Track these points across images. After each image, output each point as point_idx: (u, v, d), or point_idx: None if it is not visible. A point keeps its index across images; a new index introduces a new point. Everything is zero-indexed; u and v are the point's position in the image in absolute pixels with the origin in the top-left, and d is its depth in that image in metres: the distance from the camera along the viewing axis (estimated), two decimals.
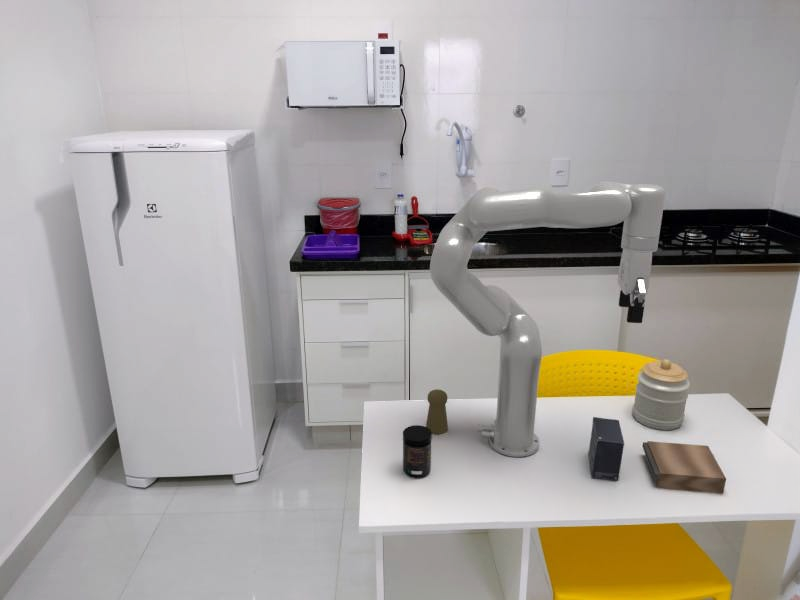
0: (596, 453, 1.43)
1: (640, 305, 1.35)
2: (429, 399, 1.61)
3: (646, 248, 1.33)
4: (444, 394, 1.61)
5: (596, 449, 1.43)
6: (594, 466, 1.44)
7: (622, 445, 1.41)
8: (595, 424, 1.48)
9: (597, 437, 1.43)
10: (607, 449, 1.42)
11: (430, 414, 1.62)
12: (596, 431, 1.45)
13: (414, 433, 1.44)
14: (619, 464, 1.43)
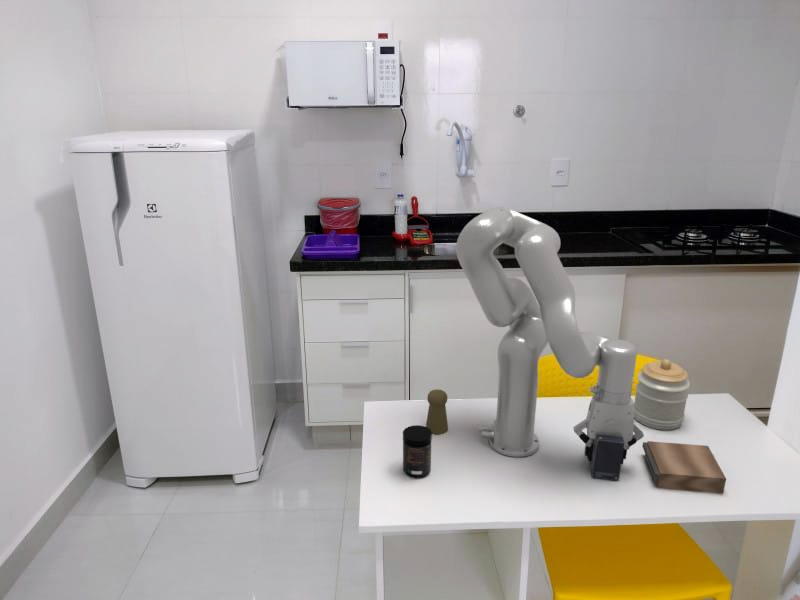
0: (596, 453, 1.43)
1: None
2: (429, 399, 1.61)
3: None
4: (444, 394, 1.61)
5: (596, 449, 1.43)
6: (594, 466, 1.44)
7: (622, 445, 1.41)
8: None
9: (597, 437, 1.43)
10: (607, 448, 1.42)
11: (430, 414, 1.62)
12: None
13: (414, 433, 1.44)
14: (619, 464, 1.43)
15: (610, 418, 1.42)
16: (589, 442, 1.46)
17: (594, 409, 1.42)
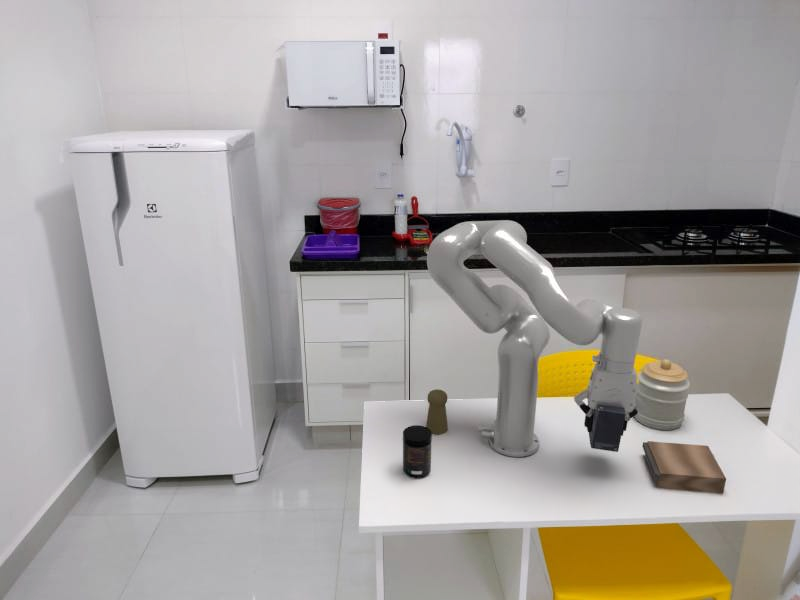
0: (597, 423, 1.40)
1: None
2: (429, 399, 1.61)
3: None
4: (444, 394, 1.61)
5: (597, 419, 1.40)
6: (594, 436, 1.42)
7: (623, 415, 1.38)
8: None
9: (598, 407, 1.40)
10: (608, 419, 1.39)
11: (430, 414, 1.62)
12: None
13: (414, 433, 1.44)
14: (620, 435, 1.40)
15: (612, 388, 1.39)
16: (589, 412, 1.44)
17: (596, 378, 1.39)
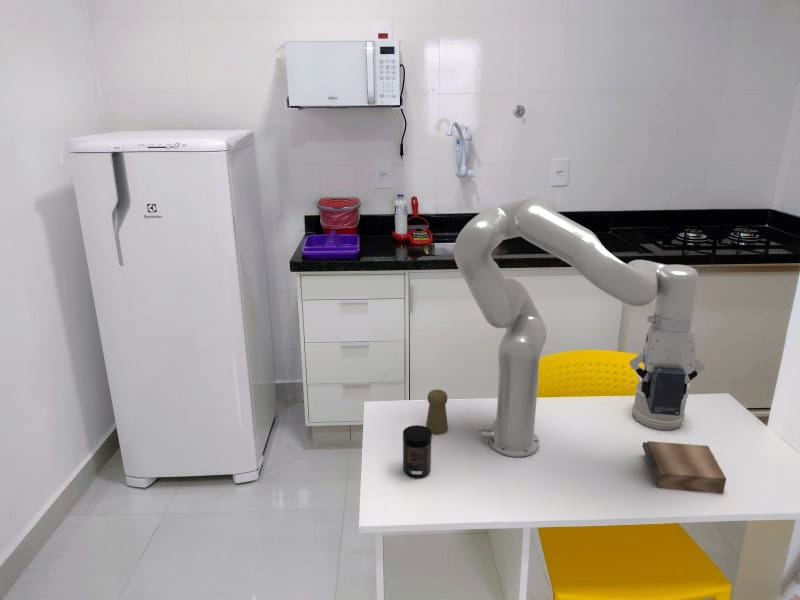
0: (656, 386, 1.35)
1: None
2: (429, 399, 1.61)
3: None
4: (444, 394, 1.61)
5: (655, 382, 1.35)
6: (653, 400, 1.36)
7: (684, 376, 1.33)
8: None
9: (656, 369, 1.35)
10: (667, 381, 1.34)
11: (430, 414, 1.62)
12: None
13: (414, 433, 1.44)
14: (680, 397, 1.35)
15: (670, 348, 1.34)
16: (647, 376, 1.38)
17: (652, 339, 1.34)
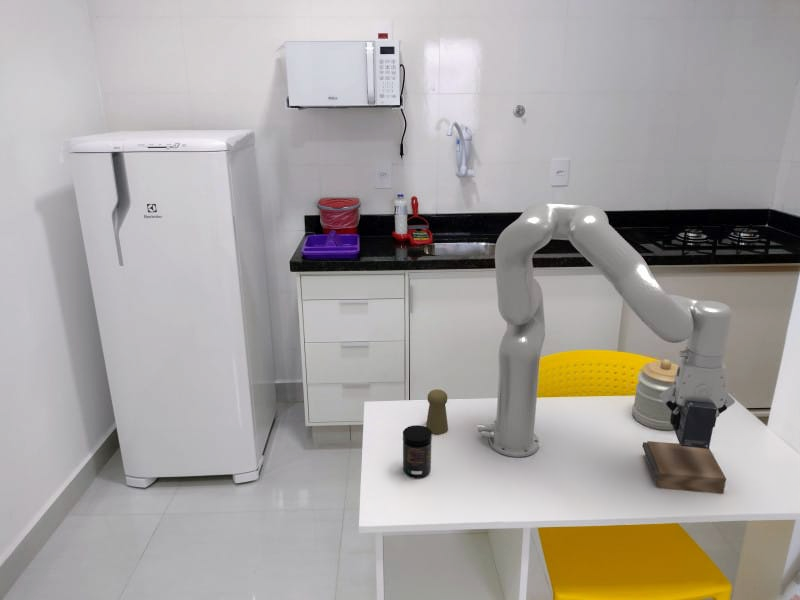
0: (686, 420, 1.37)
1: None
2: (429, 399, 1.61)
3: None
4: (444, 394, 1.61)
5: (687, 415, 1.36)
6: (684, 434, 1.38)
7: (715, 410, 1.35)
8: None
9: (687, 403, 1.36)
10: (698, 415, 1.36)
11: (430, 414, 1.62)
12: None
13: (414, 433, 1.44)
14: (711, 431, 1.36)
15: (701, 383, 1.35)
16: (677, 409, 1.40)
17: (684, 374, 1.36)
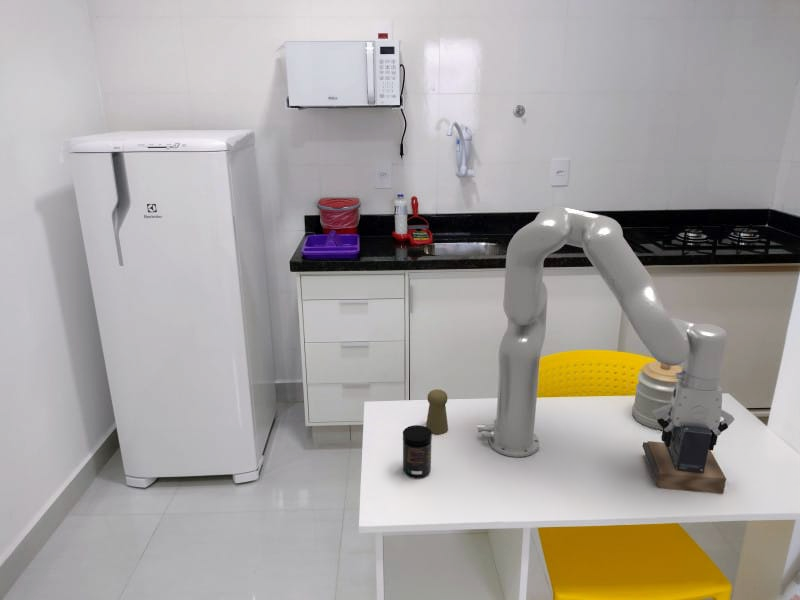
0: (682, 444, 1.39)
1: None
2: (429, 399, 1.61)
3: None
4: (444, 394, 1.61)
5: (682, 440, 1.39)
6: (679, 458, 1.40)
7: (710, 436, 1.37)
8: None
9: (683, 428, 1.39)
10: (694, 440, 1.38)
11: (430, 414, 1.62)
12: None
13: (414, 433, 1.44)
14: (706, 455, 1.39)
15: (697, 405, 1.37)
16: (668, 427, 1.42)
17: (680, 395, 1.38)
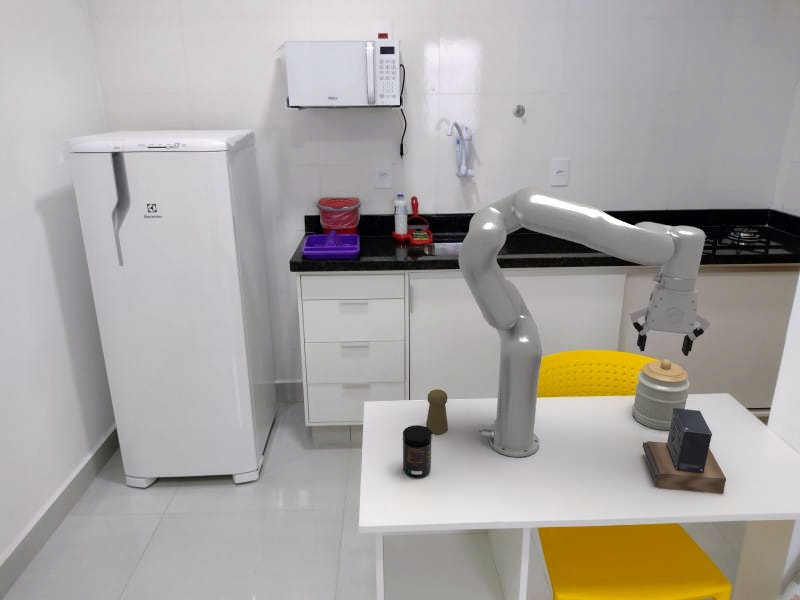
0: (682, 444, 1.39)
1: None
2: (429, 399, 1.61)
3: None
4: (444, 394, 1.61)
5: (682, 440, 1.39)
6: (679, 458, 1.40)
7: (710, 436, 1.37)
8: (677, 415, 1.44)
9: (683, 428, 1.39)
10: (694, 440, 1.38)
11: (430, 414, 1.62)
12: (680, 422, 1.41)
13: (414, 433, 1.44)
14: (706, 455, 1.39)
15: (672, 307, 1.39)
16: (643, 330, 1.43)
17: (656, 297, 1.39)
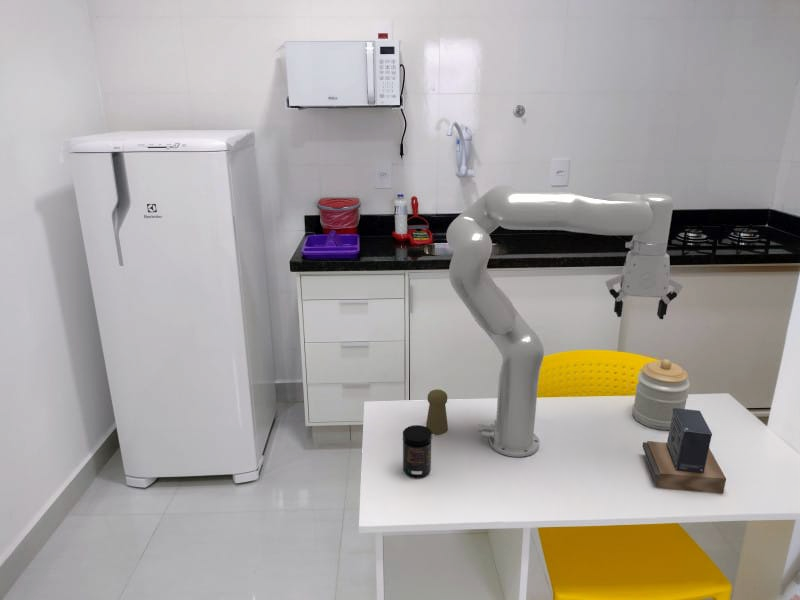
0: (682, 444, 1.39)
1: None
2: (429, 399, 1.61)
3: None
4: (444, 394, 1.61)
5: (682, 440, 1.39)
6: (679, 458, 1.40)
7: (710, 436, 1.37)
8: (677, 415, 1.44)
9: (683, 428, 1.39)
10: (694, 440, 1.38)
11: (430, 414, 1.62)
12: (680, 422, 1.41)
13: (414, 433, 1.44)
14: (706, 455, 1.39)
15: (646, 272, 1.44)
16: (619, 296, 1.48)
17: (630, 263, 1.44)
